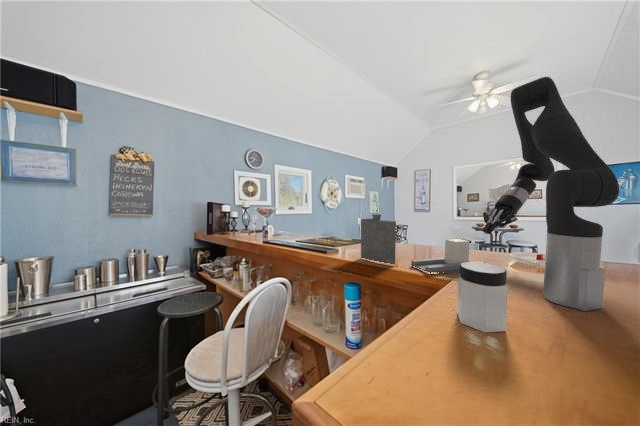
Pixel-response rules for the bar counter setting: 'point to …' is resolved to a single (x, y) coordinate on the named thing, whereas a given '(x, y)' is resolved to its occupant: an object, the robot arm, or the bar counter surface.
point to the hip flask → (378, 239)
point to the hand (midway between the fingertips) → (485, 232)
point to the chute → (436, 265)
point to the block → (456, 251)
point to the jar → (482, 296)
